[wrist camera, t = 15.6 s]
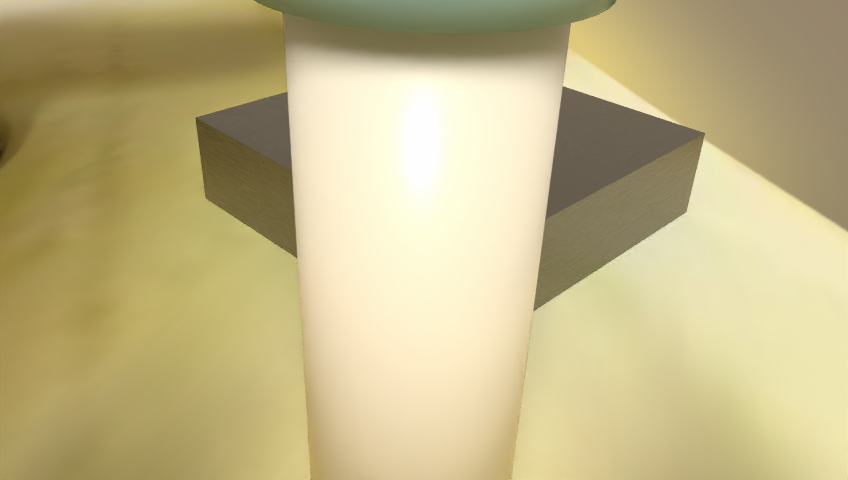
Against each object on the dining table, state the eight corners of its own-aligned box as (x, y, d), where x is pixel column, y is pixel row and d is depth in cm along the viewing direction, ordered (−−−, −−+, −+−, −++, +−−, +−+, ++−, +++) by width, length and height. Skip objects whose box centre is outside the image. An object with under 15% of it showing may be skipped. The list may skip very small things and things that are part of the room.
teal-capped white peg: (238, 529, 21) (149, -134, 12) (411, 413, 25) (430, -148, 16) (405, 708, 17) (435, -76, 9) (577, 537, 21) (710, -113, 13)
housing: (205, 197, 36) (195, 117, 34) (442, 113, 46) (445, 47, 44) (455, 361, 27) (462, 263, 25) (686, 211, 37) (704, 133, 35)
